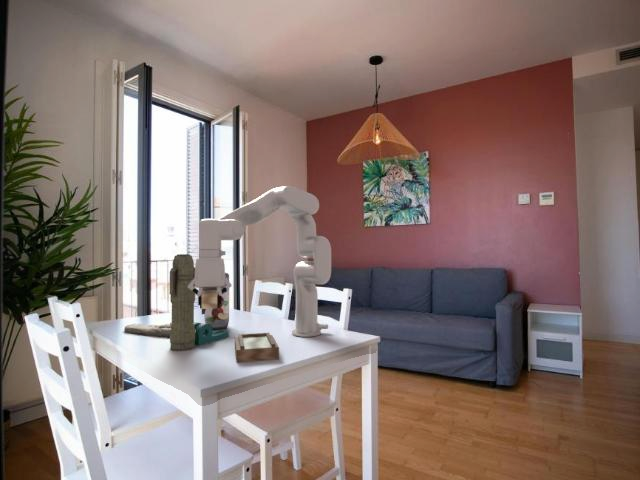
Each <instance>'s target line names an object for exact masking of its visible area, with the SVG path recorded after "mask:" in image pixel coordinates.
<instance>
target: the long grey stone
mask: <svg viewBox="0 0 640 480" xmlns="http://www.w3.org/2000/svg"><path fill="white" fill-rule="evenodd" d="M171 327H172V322H170V323H167V324H166V323H165V324H160V325H158V324H157V325H155V324H144V323H143V324H141V323H133V324H127V325H126V326H124V333H130V334H131V333H132V334H134V335H135V334H136V335H144V336H153V337H154V336H155V337H157V336H158V337H164V338H166V337H167V338H170V330H171Z"/></svg>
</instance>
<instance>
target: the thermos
mask: <svg viewBox="0 0 640 480" xmlns="http://www.w3.org/2000/svg"><path fill="white" fill-rule="evenodd" d="M194 278H195V261H194V258H193V256H192V255H191V254H189V253H188V254H187V253H186V254H183V253H181V254H176V255H174V258H173V259H172V267H171V268H170V271H169V295H170V297H169V298H170V304H171V323H172V327H171V330H170V337H169V344H170V347H169V349H170V350H171V351H174V352H175V351H176V352H180V351H181V352H184V351H190V350H192V349H194V348H195V346H196V345H194V341H195V331H196V330H195V327H194V322H195V320H194V319H195V316H194V315H195V301H196V294H195V293H194V292H193V291H192V290H191V289H189V288H188V285H189V284H190V283H191V281H192V280H193V279H194ZM193 287H195V288H196V286H195V283H194V284H193Z"/></svg>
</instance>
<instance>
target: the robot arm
mask: <svg viewBox="0 0 640 480" xmlns="http://www.w3.org/2000/svg"><path fill="white" fill-rule="evenodd" d="M281 209H284V210H285V213H287V214H288V215H289V217H291V219H292V220H293V222H294V223H295V228H296V252H297V255H298V256H299V257H300V258H305V259H313V260H311V261H310V260H303V261H299V262H297V264H295V266H294V267H293V279H294V284H295V329H293V330H291V335H293V336H296V337H302V338H311V337H312V338H313V337H317V336H320V335H321V333H322V330H328V329H329V324H327V323H326V324H325V323H319V322H318V296H319V294H318V289H317V286H316V285H324V284H327V283H328V282H329V281H330V278H331V276H332V275H331V274H332V246H331V243H330V241H329V240H328V238H327V237H325V236H322V235H317V224H316V222H315V219H314V217H313V216H312V215H314V214H316V213H318V211H319V209H320V202H319V199H318V198H317V196H315V195H314V194H312V193H309V192H307V191H305V190H303V189H300V188H297V187H295V186H290V185H285V186H279V187H275V188H272V189H270V190H268V191H267V192H265V193H263V194H262V195H261V196H258V197H257V198H256V199H253V200H252V201H250V202H248V203H246V204H244V205H243V206H242V205H241V206H240V207H238V208H236V209H234V210H231V211H230V212H227V214H224V215H223V216H221V217H220V218H218V219H216V218H215V219H214V218H203V219H200V220H199V221H198V258H196V261H195V264H194V267H195V278H194V279H193V280H192V281H191V283H190V284H189V285H188V288H189V289H191V290H192V291H193V292H194V293H195V296H197V301H198V302H197V306H199V307H200V309H202V292H203V288H210V287H217V290H218V295H217V307H219V305H221V295H222V294H223V293H224V292H225V291H226V290H227V289H229V290H230V289H231V287H232V283H231V282H230V280H229V281H228V280H227V278H226V277H225V273H226V269H225V268H226V267H225V266H226V265H225V261H224V257H223V258H222V256H226V251H225V250H224V251H223V250H222V241H237V240H239V239H241V238H242V237H243V236H244V235H245V231H246V230H245V229H246V228H245V227H248V226H252V225H256V224H258V223H261V222H263V221H265V220H267V219H268V218H269V217H271V216H272V215H274V214H275V213H277V212H278V211H279V210H281ZM194 283H195V287H193V284H194ZM225 283H226V284H227V285H226V286H225V287H224V288H223V289H222V290H221V287H222V286H224V285H225ZM197 288H198V289H197Z"/></svg>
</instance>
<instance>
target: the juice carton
mask: <svg viewBox="0 0 640 480" xmlns="http://www.w3.org/2000/svg"><path fill="white" fill-rule="evenodd" d="M225 277H226V278H227V280H228V281H229V282H230V274H229V273H228V272H225ZM226 285H227V284H226V283H225V285H224V286H222V287H221V290H222V289H223V288H224V287H225V286H226ZM229 321H230V288H229V289H227V290H226V291H225V292H224V293H223V294H222V295H221V305H219V307H218V308H217V314H214V309H206V311H205V314H204V324H209V325H210V326H211V327H212V331H217V330H226V329H228V327H229V323H230V322H229Z"/></svg>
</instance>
